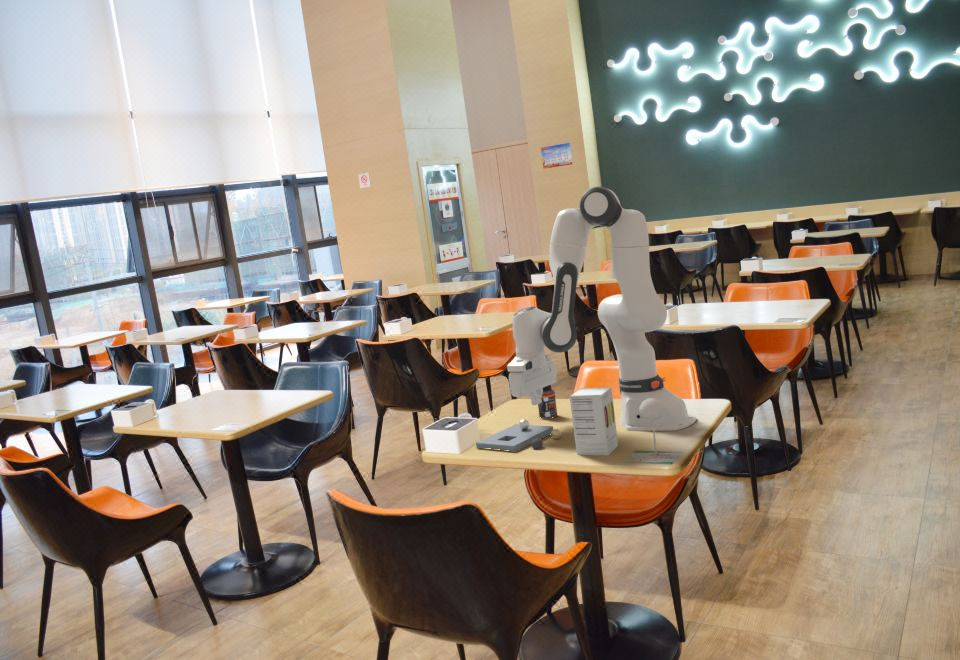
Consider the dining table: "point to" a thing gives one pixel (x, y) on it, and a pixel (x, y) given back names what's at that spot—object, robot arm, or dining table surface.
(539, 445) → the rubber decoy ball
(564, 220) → the robot arm
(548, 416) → the supplement bottle
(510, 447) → the hole plate
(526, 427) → the steel ball
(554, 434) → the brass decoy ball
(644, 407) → the lollipop
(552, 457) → the dining table surface
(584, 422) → the supplement box
